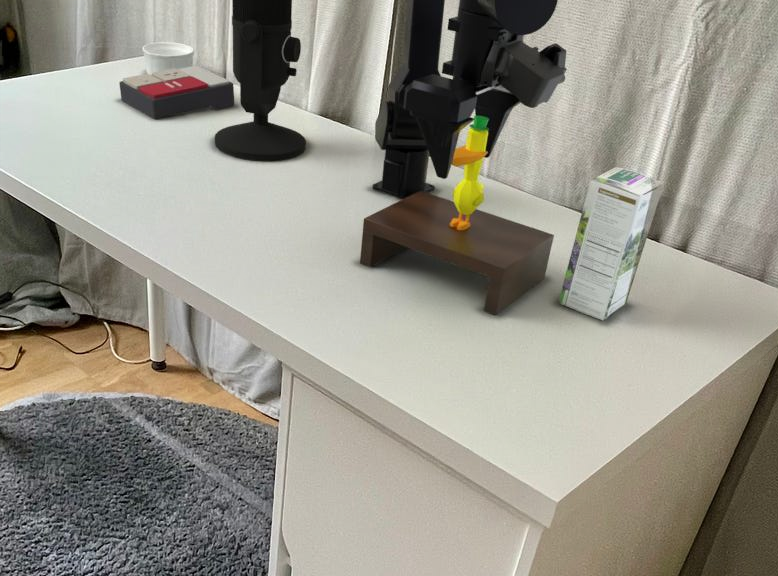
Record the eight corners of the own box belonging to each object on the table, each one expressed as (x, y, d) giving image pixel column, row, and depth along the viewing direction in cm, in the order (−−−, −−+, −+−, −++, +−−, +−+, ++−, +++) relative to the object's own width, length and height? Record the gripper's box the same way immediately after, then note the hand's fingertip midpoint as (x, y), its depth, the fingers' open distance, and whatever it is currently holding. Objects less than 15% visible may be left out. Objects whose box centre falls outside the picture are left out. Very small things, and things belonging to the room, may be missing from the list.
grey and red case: (117, 76, 142) (197, 61, 150) (120, 104, 145) (199, 87, 153) (152, 95, 136) (234, 78, 144) (155, 123, 139) (235, 105, 146)
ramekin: (204, 77, 158) (203, 51, 156) (160, 83, 153) (158, 57, 151) (177, 65, 163) (176, 39, 161) (134, 70, 159) (132, 44, 156)
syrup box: (581, 287, 103) (613, 163, 94) (628, 306, 100) (665, 179, 91) (557, 303, 99) (588, 176, 90) (605, 323, 96) (641, 193, 87)
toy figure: (451, 239, 97) (468, 128, 90) (427, 228, 99) (442, 118, 92) (489, 224, 101) (508, 117, 94) (465, 214, 103) (482, 108, 96)
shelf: (415, 232, 111) (420, 190, 108) (544, 279, 104) (554, 234, 100) (359, 263, 103) (363, 218, 100) (495, 315, 96) (504, 268, 92)
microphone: (289, 167, 126) (295, -30, 111) (200, 151, 129) (194, -44, 113) (317, 138, 137) (326, -45, 122) (234, 124, 139) (233, -57, 124)
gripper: (517, 41, 77) (487, 212, 87) (601, 13, 90) (567, 165, 99) (409, 16, 82) (392, 181, 92) (504, -7, 94) (480, 140, 104)
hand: (463, 166), depth 96 cm, fingers open, 9 cm apart
